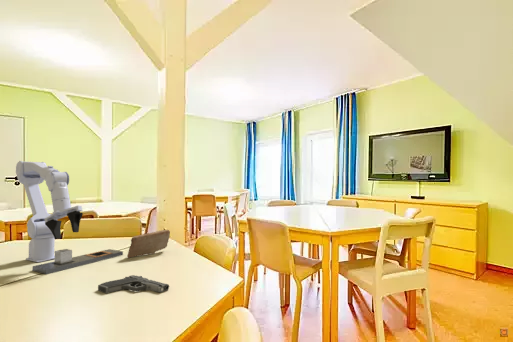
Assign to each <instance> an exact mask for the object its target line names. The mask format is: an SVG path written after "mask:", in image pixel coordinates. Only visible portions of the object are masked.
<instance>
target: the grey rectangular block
mask: <svg viewBox="0 0 513 342" xmlns="http://www.w3.org/2000/svg"><path fill="white" fill-rule="evenodd" d="M54 256H55V259H54V261H55V264H56V265H63V264H68V263H72V257H73V250H72V249H70V248H63V249H59V250H54Z"/></svg>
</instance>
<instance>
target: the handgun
mask: <svg viewBox="0 0 513 342" xmlns="http://www.w3.org/2000/svg"><path fill="white" fill-rule="evenodd" d="M169 289H170V285H169V284H168V283H164V282H160V281H156V280H152V279H149V278H148V277H147V278H146V277H143V276H142V275H135V274H132V275H128V276H125V277H123V278H120V279H116V280H109V281H105V282H102V283H100V284H98V286H97V291H99V292H101V293H104V294H109V293H114V292H119V291H122V290H129V291H132V292H140V291H144V290H145V291H152V292H156V293H164V292H166V291H168V290H169Z"/></svg>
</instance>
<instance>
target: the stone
mask: <svg viewBox="0 0 513 342" xmlns="http://www.w3.org/2000/svg"><path fill="white" fill-rule="evenodd" d="M170 232H171V231H170V229H161V230H157V231H156V230H155V231H152V232H148V233H143V234H139V235H135V236H132V237H131V239H130V242H131V243H130V246H129V249H128V251H127V259H129V258H134V257H139V256H145V255H154V254H156V253H157V252H160V251H161V250H163V249H164V250H165V249H166V248H167V247H168V242H169V239H170V237H171V236H170Z"/></svg>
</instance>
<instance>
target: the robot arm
mask: <svg viewBox="0 0 513 342" xmlns="http://www.w3.org/2000/svg"><path fill="white" fill-rule="evenodd" d="M15 173H16V178H17V181H18V182H19V183H20V184H21V185H22V184H23V188H24V190H25V193H26V197H27V200H28V203H29V207H30V210H31V213H32V217H30V218H29V220H28V221H27V223H26V227H27V235H28V237H30V238H31V239H30V241H29V242H28V257H26V258H25V260H27V261H31V262H34V263H35V262H36V263H42V262H45V261H46V262H47V261H49V260H51V261H52V260H55V243H56V242H55V240H61V238H62V231H61V229H62V227H61V226H62V220H60V219H63V218H65V217H68V219H69V222H70V227H71V231H72V233H79V232H80V224H81V220H82V217H83V215H84V214H83V207H82V205H75V206H73V207H72V204H71V200H70V193H69V192H70V191H69V186H68V185H69V183H70V175H69V173H68V172H67V171H60V170H58V169H56V168H54V166H52V165H47V163H46V162H44V161H22V160H19V161H17V163H16V166H15ZM44 181H45V184H46V187H47V189H48V191H49V192H50V195H51V197H50V198H51V202H52V209H53V211H52V213H49V212H48V210H47V207H46V204H45V201H44V198H43V194H42V192H41V188H40V186H39V185H40V184H42V183H44Z"/></svg>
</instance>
